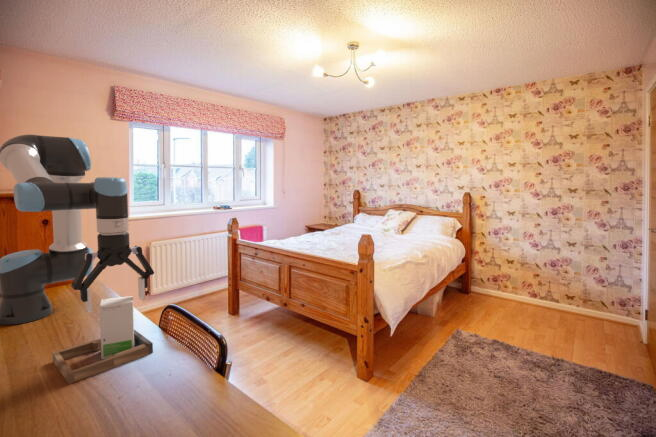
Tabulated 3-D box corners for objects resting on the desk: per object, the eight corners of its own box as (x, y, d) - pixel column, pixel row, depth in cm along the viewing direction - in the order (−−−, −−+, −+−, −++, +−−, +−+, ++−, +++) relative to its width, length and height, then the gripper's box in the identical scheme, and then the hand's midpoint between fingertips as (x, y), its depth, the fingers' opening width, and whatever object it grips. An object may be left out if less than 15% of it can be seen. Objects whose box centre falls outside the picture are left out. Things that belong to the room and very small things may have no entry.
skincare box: (101, 360, 93) (97, 306, 91) (102, 349, 99) (99, 299, 97) (135, 353, 97) (133, 301, 95) (135, 343, 103) (132, 294, 101)
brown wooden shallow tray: (52, 361, 92) (52, 351, 92) (131, 336, 107) (131, 327, 107) (68, 384, 82) (67, 372, 82) (152, 352, 98) (152, 342, 97)
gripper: (61, 240, 82) (67, 322, 85) (164, 229, 101) (166, 297, 104) (53, 236, 86) (59, 314, 89) (153, 226, 106) (155, 291, 108)
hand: (116, 305), depth 97 cm, fingers open, 13 cm apart
